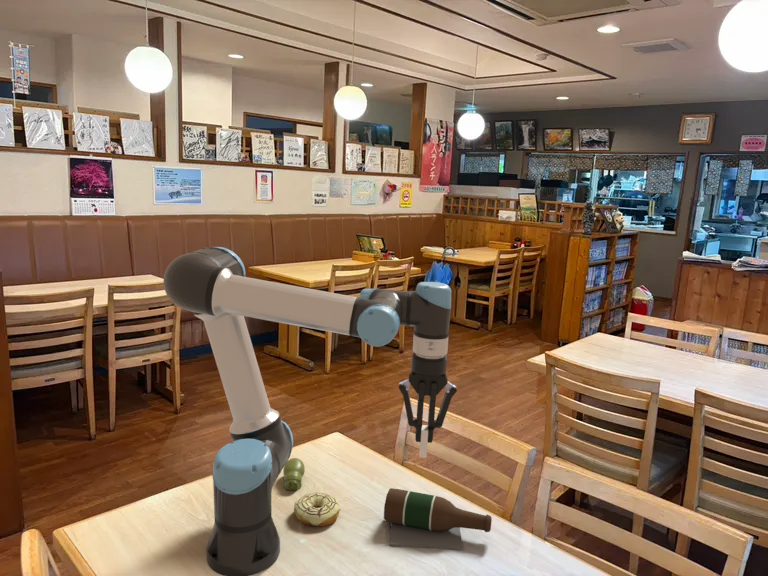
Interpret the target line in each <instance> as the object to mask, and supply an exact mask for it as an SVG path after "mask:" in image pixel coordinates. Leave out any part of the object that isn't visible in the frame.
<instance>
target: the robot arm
mask: <svg viewBox="0 0 768 576" xmlns="http://www.w3.org/2000/svg"><path fill="white" fill-rule="evenodd" d="M162 281H163V289H164V292H165V294H166V296H167V297H168V299H169V300H170V301H171V302H172V303H173V304H174V305H175V306H177V307H178V308H180V309H183V310H185V311H188V312H192V313H193V316H194V317H196V318H198V319H199V320H202V321H203V324H204V327H205V330H206V334H207V337H208V340H209V343H210V347H211V350H212V353H213V356H214V357H213V358H214V359H215V364H216V367H217V370H218V373H219V376H220V380H221V383H222V387H223V391H224V393H225V396H226V400H227V403H228V406H229V409H230V410H229V411H230V412H231V416H232V419H233V421H232V423H231V425H230V426H229V429H228V430H229V434H230V437H231V438H230V439H231V441H232V443H231V442H230V443H229V442H228V443H227V444H225V445H223V447H221V448H220V449H219V450H218V451H217V453H216V454H215V456H214V459H213V465H212V472H211V473H212V475H211V476H212V484H213V485H212V486H213V508H214V510H213V511H214V524H213V527H212V528H211V529H212V530H211V534H210V536H209V538H208V542H207V546H206V562H207V565H208V567H209V568H210V569H211V570H212V571H213V572H215V573H216V574H217V575H221V576H253V575H256V574H259V573H261V572H263V571H265V570H267V569H269V568H271V566H272V565H273V564H274V563H275V562H276V561H277V559H278V558H279V556H280V553H281V539H280V535H279V532H278V529H277V528H276V524H275V522H274V519H273V516H272V515H273V514H272V492H273V491H272V490H273V486H274V485H275V483H276V482H277V480H278V478H279V476H280V474H281V473H282V472H283V469H284V466H285V464H286V463H287V461H288V460H290V457H291V454H292V451H293V447H294V437H293V433H292V430H291V428H290V426H289V425H288V424H287V423H286V421H283V420H282V418H281V415H280V412H279V411H278V410H277V409H276V410H275V409H274V408H272V407H271V405H270V401H269V398H268V395H267V392H266V391H267V390H266V387H265V384H264V381H263V377H262V373H261V370H260V366H259V364H258V360H257V357H256V353H255V350H254V346H253V343H252V339H251V336H250V333H249V330H248V327H247V323H246V319H245V317H248V318H252V319H259V320H262V321H263V320H264V321H269V322H273V323H280V324H286V325H292V326H297V327H302V328H308V329H314V330H317V331H318V330H319V331H324V332H330V333H335V334H339V335H345V336H351V337H355V338H359V339H361V340H362V342H364V343H365V344H367V345H369V346H371V347H376V348H378V347H384V346H385V345H388V344H390V343H391V342H392V341H393V340H394V338H395V337H396V336H397V334H398V332H399V331H400V327H402V326H403V327H413V338H412V340H413V341H412V342H413V343H412V352H413V353H412V355H411V369H410V373H409V375H408V378H407V379H405V380H400V381H399V382H398V389H399V391H400V393H401V394H402V397H403V401H404V402H403V403H404V407H405V411H406V412H405V413H406V419H407V422H408V426H410V427H414V428H415V434H414V435H415V438H414V439H415V442H417V443H419V454H418V455H419V458H421V459H422V458H423V459H427V451H428V444H429V443H433V441H434V439H433V438H434V430H435V429H437V428H438V429H441V428H442V427H443V424H444V421H445V419H446V415H447V412H448V409H449V406H450V404H451V401H452V399H453V397H454V396H455V394H456V393H457V392H458V390H457V386H456V385H457V384H455V383H451V382H450V381H449V380H448V377H447V365H448V364H447V362H448V357H447V354H448V351H449V350H448V348H449V336H450V335H449V334H450V322H451V313H452V311H451V310H452V289H451V287H450V286H449V285H448V284H446V283H443V282H438V281H420V282H418V283H417V285H416V288H415V290H411V291H410V290H397V289H395V290H394V289H385V288H384V289H383V288H379V287H376V288H363V289H362V290H361V291H360V293H359V297H356V296H352V295H347V294H341V293H337V292H336V293H335V292H331V291H324V290H321V289H320V290H319V289H313V288H307V287H302V286H298V285H292V284H286V283H281V282H275V281H271V280H270V281H269V280H265V279H264V280H263V279H259V278H253V277H247V276H246V268H245V265H244V262H243V260H242V259H241V258H240V256H238V255H237V254H236V253H235V252H234V251H232V250H231V249H228V248H227V247H222V246H210V247H209V246H208V247H204V248H201V249H199V250H195V251H191V252H188V253H184V254H182V255H179V256H177V257H176V258H175V259H173V260H172V261H171V262H170V263H169V265H168V266H167V267H166V270H165V271H164V275H163V279H162ZM410 386H411V387H412V388H413V390H414V391H415V393H416V394H417V406H416V418H415V417H414V413H413V408H412V407H413V406H412V403H411V396H410V392H409V391H410V389H411V387H410ZM443 389H444V390H445V392H444V395H443V398H442V400H441V405H440V407H439V410H438V413H437V416H436V419H435V414H436V403H437V396H438V395H439V394H440V392H442V390H443ZM425 396H428V397H429V398H428V399H429V400H428V401H429V402H428V415H427V416H428V417H427V424H423V418H424V417H423V416H424V415H423V414H424V404H425V403H424V402H425V401H424V400H425Z"/></svg>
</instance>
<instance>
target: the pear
mask: <svg viewBox="0 0 768 576" xmlns="http://www.w3.org/2000/svg"><path fill="white" fill-rule="evenodd" d="M305 468H306V467H305V464H304V462H303V460H301V459H300V458H299V457H298V458H297V457H292V458H289V459H288V461H287V463H286V464H285V466H284V467H283V469H282V473H283V476H284V479H283V480H284V483H283V488H284V489H285V490H286V491H298V490H300V488H302V486H303V482H302V479H303V476H304V475H305Z"/></svg>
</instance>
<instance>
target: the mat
mask: <svg viewBox="0 0 768 576" xmlns="http://www.w3.org/2000/svg"><path fill="white" fill-rule="evenodd" d="M389 533H390V536H389V537H390V538H389V546H390V547H405V548H406V547H409V548H426V549H427V548H428V549H444V550H445V549H448V550H462V551H463V549H464V547H463V546H464V544H463V541H462V532H461V528H452V529H450V530H448V531H444V532H434V531H428V530H423V529H418V528H412V527H407V526H402V525H397V524H393V523H390V532H389Z"/></svg>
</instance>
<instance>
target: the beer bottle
mask: <svg viewBox="0 0 768 576" xmlns="http://www.w3.org/2000/svg"><path fill="white" fill-rule="evenodd" d="M384 501H385V502H384V506H383V519H384V521H386V522H387V523H389V524H391V523H393V524H397V525H402V526H407V527H412V528H418V529H423V530H428V531H434V532H444V531H448V530H450V529H452V528H460V529H462V528H463V529H470V530H471V529H472V530H479V531H484V532H485V533H490V532H491V531H492V521H493V520H492V518H493V517H492V516H491V515H490V514H486V515H485V514H480V513H476V512H473V511H468V510H465V509H462V508H459V507H456V506H455V505H454V504H453V503H452V502H451V501H449V500H448V499H446V498H445V497H442V496H438V495H432V494H427V493H422V492H416V491H412V490H411V491H410V490H405V489H401V488H400V489H399V488H391V487H390V488H389V489H388V492H387V493H386V496H385V500H384Z"/></svg>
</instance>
